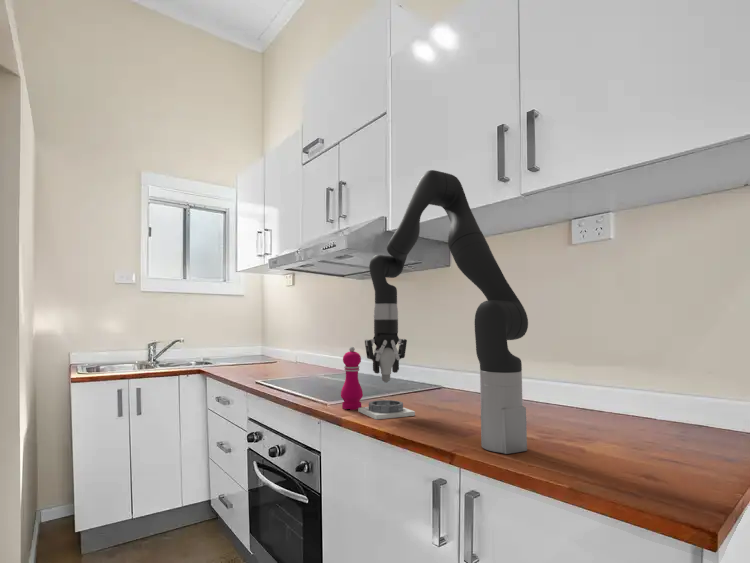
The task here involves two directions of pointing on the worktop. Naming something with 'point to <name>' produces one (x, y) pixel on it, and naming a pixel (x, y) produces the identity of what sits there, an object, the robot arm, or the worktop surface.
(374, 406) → the socket collar
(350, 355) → the pepper mill
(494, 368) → the robot arm
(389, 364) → the lightbulb
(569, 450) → the worktop surface
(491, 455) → the worktop surface
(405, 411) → the socket board
